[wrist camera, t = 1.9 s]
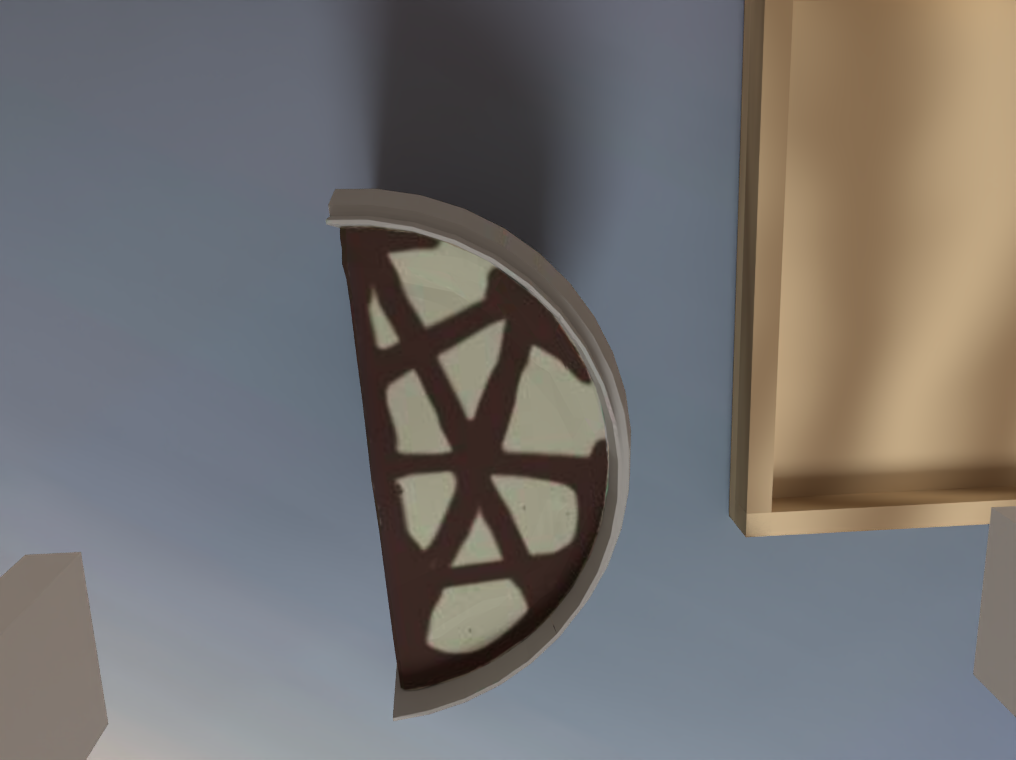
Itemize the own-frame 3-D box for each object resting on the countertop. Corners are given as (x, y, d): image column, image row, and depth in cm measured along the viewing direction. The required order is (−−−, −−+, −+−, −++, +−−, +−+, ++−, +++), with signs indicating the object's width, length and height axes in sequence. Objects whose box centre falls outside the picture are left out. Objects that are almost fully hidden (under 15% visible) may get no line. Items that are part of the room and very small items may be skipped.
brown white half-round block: (595, 535, 30) (662, 711, 21) (414, 554, 30) (395, 741, 20) (569, 162, 27) (634, 163, 18) (368, 181, 27) (321, 192, 17)
